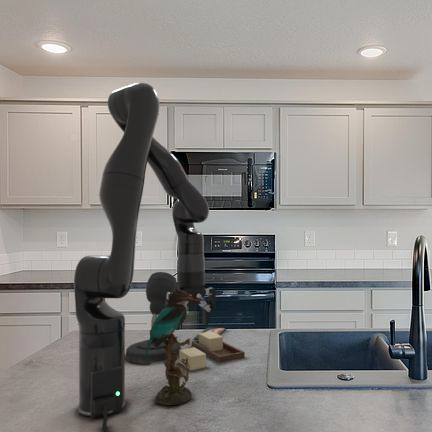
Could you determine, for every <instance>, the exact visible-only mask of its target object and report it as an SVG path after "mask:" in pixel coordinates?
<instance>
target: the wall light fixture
mask: <svg viewBox="0 0 432 432" xmlns="http://www.w3.org/2000/svg"><path fill="white" fill-rule="evenodd" d="M176 290H177V277H175V276H174V275H172V274H171V273H168V272H165V271H155V272H154V273H151V274H150V276H149V278H148V280H147V282H146V288H145V296H146V300H147V301H148V302H149V303H150V304H149V311H150V313H151V320H150V322H151V323H150V330H149V332H150V331H151V328H152V326H153V323H154V321H155V319H156V318H157V316H158V315H159V314H160V312H161V311H162V310H163V309H165V303H166V293H167V292H170V293H173V292H174V291H176ZM153 342H154V340H153ZM153 342H152V343H151V345H150V348H149V350H148V353H147V355H146V357H145V359H144V360H143V358H144V355H145V353H146V349H147V346H148V343H149V339H145V340H142V341H138V342H134V343H132V344H130V345H129V346H128V347H127V348H125V361H128V362H129V363H132V364H140V365H149V364H152V363H159V362H165V361H166V357H165V356H166V355H167V352H166V350H165V349H164V347H165V345H166V344H164V342H163V343H161V344H160V345H159V346H158V347H157V348H156V347H155V346H154V343H153ZM181 347H182V346H179V345H178V344H176V343H175V344H174V345H173V346H172V350H174V351H176V352H177V355H178V356H179V350H181V349H182V348H181Z"/></svg>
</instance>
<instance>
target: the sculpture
mask: <svg viewBox="0 0 432 432" xmlns="http://www.w3.org/2000/svg"><path fill="white" fill-rule="evenodd" d="M185 301H193V302H196V301H205V299H204V298H203V299H200V298H197V297H193V296H190V295H188V293H187V292H186V291H184V290H177V289H176V291H174V292H173V293H172V294H171V295H170V298H169V300H168V303H167V306H166V308H165V307H164V308H163V310H162V311H161V312H160V314H158V315H157V318H156V319H155V321H154V323H153V326H152V328H151V327H150V330H151V331H150V330H149V339H148V340H149V343H148V346H147V349H146V353H145V355H144V358H143V360H144V359H145V357H146V355H147V353H148V350H149V348H150V345H151V343H152V342H153V340H154V342H153V343H154V346H155V347H156V348H157V347H158V346H159V345H160V344H161V343H163V342H164V344H166V345H165V347H164V349H165V350H166V352H167V355H166V356H165V357H166V360H164V361H163V364H164V367H165V378H166V380H167V385H164V386H163V387H162V388H161V389H160V390H159V391H158V392H157V393H156V396H155V399H154V402H155V403H156V404H157V405H162V406H176V405H181V404H184V403H186V402H188V401H189V400H190V399H191V398H192V391H191V390H190V389H189V388H187V387H185V386H186V385H187V382H188V381H189V371H190V369H189V368H187V366H189V364H188V365H187V363H188V359H187V358H186V362H185V363H184V361H185V359H182V360H183V361H181V362H182V363H183V364H185V365H186V367H185V366H184V370H183V368H181V363H178V366H177V365H175V364H176V362H177V361H178V359H179V355H177V352H176V351H174V350H172V346H173V345H174V344H175V343H176V344H178V345H179V346H181V347H184V346H186V345H188V346H190V345H191V338H187V339H186V340H184V341H183V342H182V341H181V342H180V341H178V336H176V335H175V334H174V332H175V331H177V330H176V329H177V328H178V327H179V326H180V327H181V326H182V325H183V324H184V323H185V320H186V319H187V315H188V307H187V305H186V304H185ZM205 302H206V301H205ZM189 367H190V366H189ZM181 378H183V380H182V383H181Z"/></svg>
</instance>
